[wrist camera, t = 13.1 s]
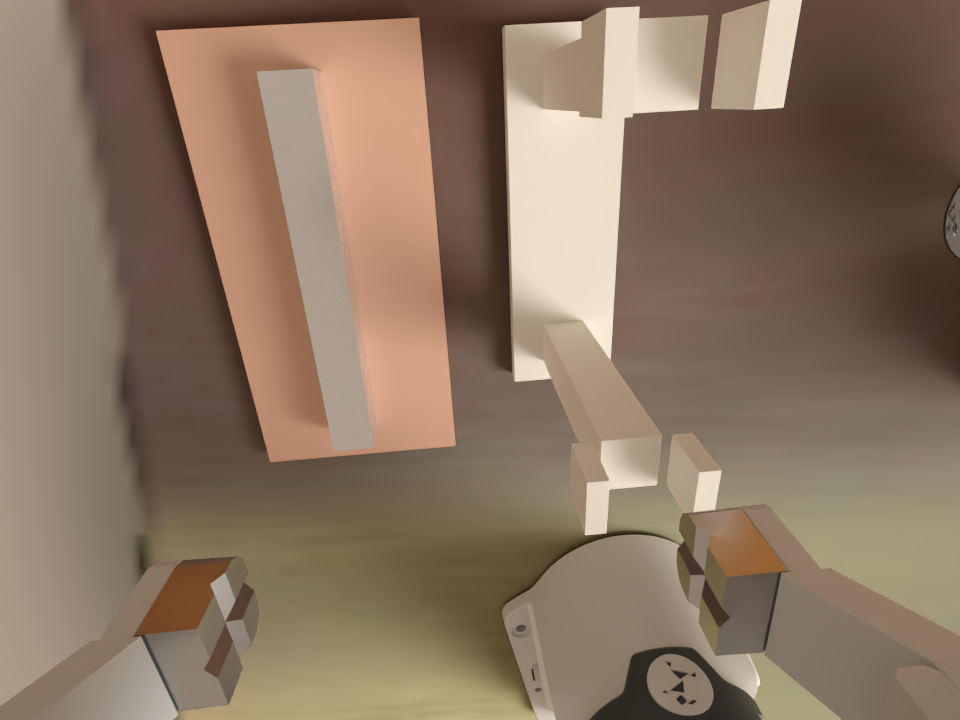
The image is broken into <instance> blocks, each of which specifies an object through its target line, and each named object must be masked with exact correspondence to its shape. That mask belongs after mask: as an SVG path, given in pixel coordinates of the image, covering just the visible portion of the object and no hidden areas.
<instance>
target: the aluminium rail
mask: <svg viewBox="0 0 960 720" xmlns="http://www.w3.org/2000/svg"><path fill="white" fill-rule="evenodd" d="M257 77H258V82H259V87H260V92H261V97H262V101H263V106H264V111H265V116H266V121H267V126H268V131H269V136H270V141H271V146H272V151H273V156H274V160H275V165H276V170H277V175H278V180H279V185H280V190H281V195H282V200H283V205H284V210H285V214H286V219H287V224H288V229H289V234H290V239H291V244H292V249H293V254H294V259H295V264H296V268H297V273H298V278H299V283H300V288H301V293H302V298H303V303H304V308H305V313H306V318H307V323H308V327H309V332H310V337H311V342H312V347H313V352H314V357H315V362H316V367H317V372H318V377H319V381H320V386H321V391H322V396H323V401H324V406H325V411H326V416H327V421H328V426H329V431H330V435H331V440H332V445H333V450H334V451H342V450H354V449H365V448H374V446H375V440H376V434H377V429H378V424H377V417H376V411H375V405H374V398H373V392H372V386H371V379H370V373H369V366H368V360H367V354H366V347H365V341H364V335H363V328H362V322H361V316H360V309H359V303H358V297H357V290H356V284H355V278H354V271H353V265H352V259H351V252H350V246H349V240H348V233H347V227H346V221H345V214H344V208H343V202H342V195H341V189H340V183H339V176H338V170H337V163H336V157H335V151H334V144H333V138H332V132H331V125H330V119H329V113H328V106H327V100H326V94H325V87H324V81H323V75H322V71H319V70H315V69H294V70H276V71H258V72H257Z"/></svg>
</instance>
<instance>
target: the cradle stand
mask: <svg viewBox="0 0 960 720" xmlns="http://www.w3.org/2000/svg"><path fill="white" fill-rule="evenodd" d="M801 2H802V0H769V1H765V2H762V3H759V4H755V5H752V6H749V7H746V8H742V9H739V10H736V11H732V12H729V13H726V14H722V21H721V29H720V38H719V46H718V54H717V63H716V71H715V80H714V88H713V96H712V105H711V109H747V110H756V109H773V108H784V102H785V96H786V90H787V84H788V78H789V73H790V67H791V61H792V55H793V49H794V43H795V37H796V32H797V26H798V20H799V14H800V8H801ZM707 23H708V15H704V16H684V17H665V18H645V19H639V7H622V8H606V9H604V10H602V11H600V12H599V13H597V14H595V15H593V16H591V17H589V18H588V19H586V20H584V21H578V22H559V23H539V24H520V25H505V26H504V27H503V28H502V46H503V80H504V113H505V147H506V181H507V214H508V248H509V282H510V315H511V349H512V374H513V377H514V381H515V382H517V381H529V380H541V379H552V382H553V384H554V386H555V389H556V391H557V393H558V396H559V398H560V400H561V403H562V405H563V407H564V410H565V412H566V414H567V417H568V419H569V421H570V424H571V426H572V428H573V431H574V433H575V435H576V438H577V440H578V442H579V443H575V444H571V476H570V494H571V497H572V500H573V503H574V506H575V508H576V511H577V514H578V517H579V520H580V523H581V526H582V528H583V531H584V534H585V535H595V534H605V533H606V532H607V517H608V501H609V489H620V488H630V487H641V486H652V485H657V479H658V470H659V461H660V452H661V443H662V435H661V433H660V432H659V430H658V429H657V427H656V426H655V424H654V423H653V422H652V420H651V419H650V417H649V416H648V414H647V413H646V411H645V410H644V409H643V407H642V406H641V404H640V403H639V401H638V400H637V398H636V397H635V395H634V394H633V393H632V391H631V390H630V388H629V387H628V385H627V384H626V382H625V381H624V379H623V378H622V377H621V375H620V374H619V372H618V371H617V369H616V368H615V366H614V365H613V364H612V362H611V343H612V326H613V308H614V291H615V273H616V256H617V238H618V220H619V203H620V185H621V168H622V150H623V133H624V117H633V113H647V112H664V111H681V110H697V109H698V105H699V96H700V87H701V78H702V68H703V59H704V50H705V41H706V32H707ZM721 471H722V470H721V469H720V468H719V466H718V465H717V464H716V463H715V461H714V460H713V459H712V458H711V456H710V455H709V454H708V452H707V451H706V450H705V449H704V447H703V446H702V445H701V444H700V442H699V441H698V440H697V438H696V437H695V436H694V435H693V433H687V434H676V435H672V441H671V450H670V458H669V467H668V475H667V483H666V484H667V486H668V488H669V489H670V491H671V492H672V494H673V496H674V497H675V499H676V501H677V502H678V504H679V505H680V507H681V509H682V510H683V512H684V513H690V512H699V511H709V510H715V506H716V500H717V494H718V488H719V482H720V476H721Z"/></svg>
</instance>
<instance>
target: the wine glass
mask: <svg viewBox="0 0 960 720" xmlns="http://www.w3.org/2000/svg"><path fill="white" fill-rule="evenodd" d="M945 238H946V242H947V245H948V247H949V249H950V250H951V252H952V253H953V254H954V255H955V256H956V257H958V258H959V259H960V186H959V187H958V189H957V191H956V192H955V194H954V196H953V198H952V200H951V202H950V204H949V207H948V210H947V213H946V219H945Z"/></svg>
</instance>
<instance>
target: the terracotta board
mask: <svg viewBox="0 0 960 720" xmlns="http://www.w3.org/2000/svg"><path fill="white" fill-rule="evenodd" d="M156 34H157V38H158V41H159V45H160V49H161V53H162V56H163V60H164V64H165V68H166V72H167V75H168V79H169V83H170V87H171V90H172V94H173V98H174V102H175V105H176V109H177V113H178V117H179V120H180V124H181V128H182V132H183V136H184V139H185V143H186V147H187V151H188V154H189V158H190V162H191V166H192V169H193V173H194V177H195V181H196V185H197V188H198V192H199V196H200V200H201V203H202V207H203V211H204V215H205V218H206V222H207V226H208V230H209V233H210V237H211V241H212V245H213V249H214V252H215V256H216V260H217V264H218V267H219V271H220V275H221V279H222V282H223V286H224V290H225V294H226V297H227V301H228V305H229V309H230V313H231V316H232V320H233V324H234V328H235V331H236V335H237V339H238V343H239V346H240V350H241V354H242V358H243V362H244V365H245V369H246V373H247V377H248V380H249V384H250V388H251V392H252V395H253V399H254V403H255V407H256V410H257V414H258V418H259V422H260V426H261V429H262V433H263V437H264V441H265V444H266V448H267V452H268V456H269V459H270V462H279V461H290V460H301V459H312V458H324V457H335V456H346V455H358V454H369V453H380V452H392V451H403V450H414V449H426V448H437V447H448V446H456V445H455V431H454V420H453V408H452V396H451V385H450V373H449V361H448V349H447V338H446V326H445V314H444V303H443V291H442V279H441V267H440V256H439V244H438V232H437V221H436V209H435V197H434V185H433V174H432V162H431V150H430V139H429V127H428V115H427V104H426V92H425V80H424V68H423V57H422V45H421V33H420V22H419V18H402V19H382V20H362V21H342V22H322V23H302V24H282V25H262V26H242V27H222V28H202V29H182V30H162V31H156ZM294 69H315V70H319V71H322V75H323V81H324V87H325V94H326V100H327V106H328V113H329V119H330V125H331V132H332V138H333V144H334V151H335V157H336V163H337V170H338V176H339V183H340V189H341V195H342V202H343V208H344V214H345V221H346V227H347V233H348V240H349V246H350V252H351V259H352V265H353V271H354V278H355V284H356V290H357V297H358V303H359V309H360V316H361V322H362V328H363V335H364V341H365V347H366V354H367V360H368V366H369V373H370V379H371V386H372V392H373V398H374V405H375V411H376V417H377V424H378V429H377V434H376V440H375V446H374V448H365V449H354V450H342V451H334V450H333V445H332V440H331V435H330V431H329V426H328V421H327V416H326V411H325V406H324V401H323V396H322V391H321V386H320V381H319V377H318V372H317V367H316V362H315V357H314V352H313V347H312V342H311V337H310V332H309V327H308V323H307V318H306V313H305V308H304V303H303V298H302V293H301V288H300V283H299V278H298V273H297V268H296V264H295V259H294V254H293V249H292V244H291V239H290V234H289V229H288V224H287V219H286V214H285V210H284V205H283V200H282V195H281V190H280V185H279V180H278V175H277V170H276V165H275V160H274V156H273V151H272V146H271V141H270V136H269V131H268V126H267V121H266V116H265V111H264V106H263V101H262V97H261V92H260V87H259V82H258V77H257V72H258V71H276V70H294Z"/></svg>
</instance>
